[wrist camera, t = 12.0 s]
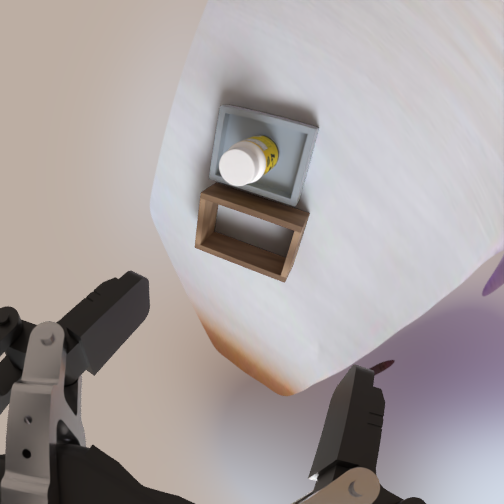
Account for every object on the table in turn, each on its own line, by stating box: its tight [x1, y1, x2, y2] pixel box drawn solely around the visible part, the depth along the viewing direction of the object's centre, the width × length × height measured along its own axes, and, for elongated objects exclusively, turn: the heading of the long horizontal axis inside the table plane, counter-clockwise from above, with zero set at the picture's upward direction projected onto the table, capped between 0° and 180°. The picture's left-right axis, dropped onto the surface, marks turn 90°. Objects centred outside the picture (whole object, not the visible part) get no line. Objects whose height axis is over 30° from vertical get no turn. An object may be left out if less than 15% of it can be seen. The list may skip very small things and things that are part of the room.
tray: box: [209, 105, 319, 207], centre depth 37 cm, size 10×12×2 cm
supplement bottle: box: [219, 135, 280, 186], centre depth 34 cm, size 5×5×8 cm
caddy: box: [195, 182, 310, 283], centre depth 42 cm, size 9×14×4 cm, turn 78°
